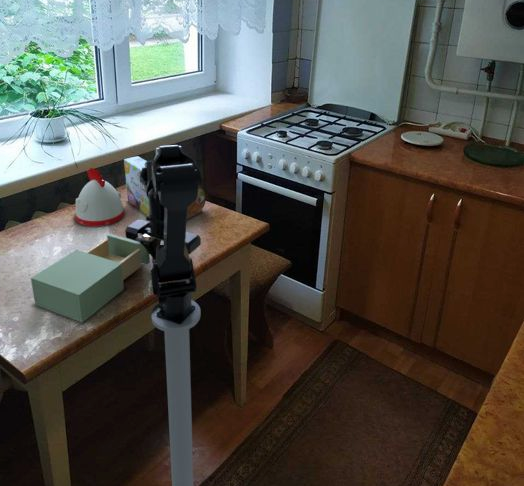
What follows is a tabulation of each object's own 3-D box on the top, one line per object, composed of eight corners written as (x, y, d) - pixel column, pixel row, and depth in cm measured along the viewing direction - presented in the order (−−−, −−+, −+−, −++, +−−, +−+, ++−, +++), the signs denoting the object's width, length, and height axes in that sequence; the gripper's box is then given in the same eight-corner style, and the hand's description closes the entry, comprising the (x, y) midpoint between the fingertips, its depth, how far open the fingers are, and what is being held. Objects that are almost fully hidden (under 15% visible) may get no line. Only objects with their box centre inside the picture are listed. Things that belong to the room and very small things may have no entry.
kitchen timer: (107, 201, 160) (103, 158, 155) (132, 215, 152) (129, 170, 147) (67, 215, 151) (61, 169, 145) (92, 230, 142) (87, 182, 137)
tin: (172, 226, 146) (172, 201, 143) (165, 223, 148) (164, 198, 145) (206, 209, 158) (206, 185, 155) (199, 206, 159) (199, 182, 156)
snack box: (126, 202, 161) (122, 158, 155) (141, 197, 164) (138, 155, 159) (160, 226, 146) (157, 179, 141) (176, 221, 150) (174, 175, 144)
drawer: (122, 243, 134) (120, 226, 132) (159, 255, 130) (159, 237, 128) (77, 274, 120) (74, 255, 118) (117, 288, 116) (116, 268, 114)
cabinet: (79, 274, 122) (76, 249, 119) (123, 289, 117) (121, 263, 114) (35, 304, 110) (30, 277, 108) (82, 322, 105) (78, 295, 103)
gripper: (212, 205, 122) (212, 259, 128) (149, 190, 129) (152, 243, 135) (187, 224, 113) (189, 282, 118) (121, 207, 120) (126, 262, 125)
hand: (164, 266), depth 125 cm, fingers closed on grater, 3 cm apart
